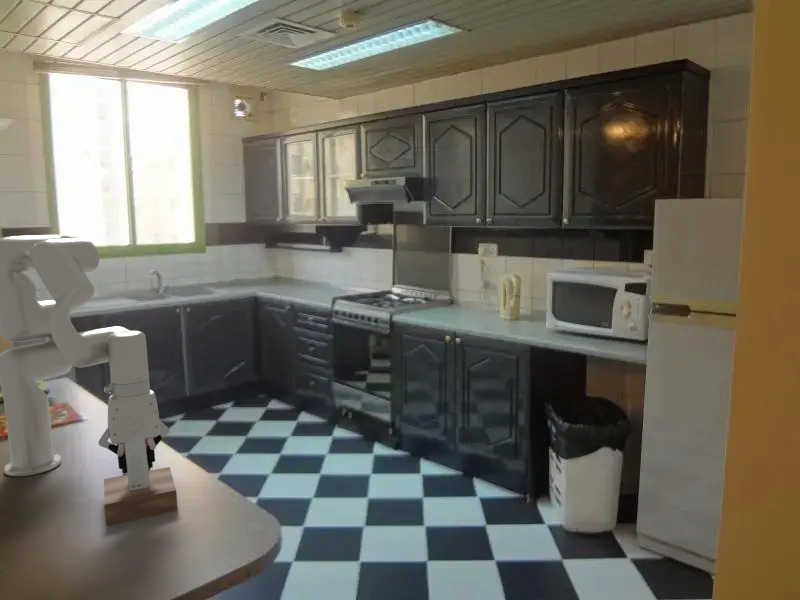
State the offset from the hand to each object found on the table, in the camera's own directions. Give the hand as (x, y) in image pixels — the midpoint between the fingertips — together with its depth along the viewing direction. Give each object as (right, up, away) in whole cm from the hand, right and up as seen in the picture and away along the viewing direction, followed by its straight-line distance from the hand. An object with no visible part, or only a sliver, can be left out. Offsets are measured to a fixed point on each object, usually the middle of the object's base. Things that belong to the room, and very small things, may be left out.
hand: (137, 467), depth 134 cm
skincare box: (0, -4, +1) cm, 4 cm away
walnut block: (0, -9, +1) cm, 9 cm away
